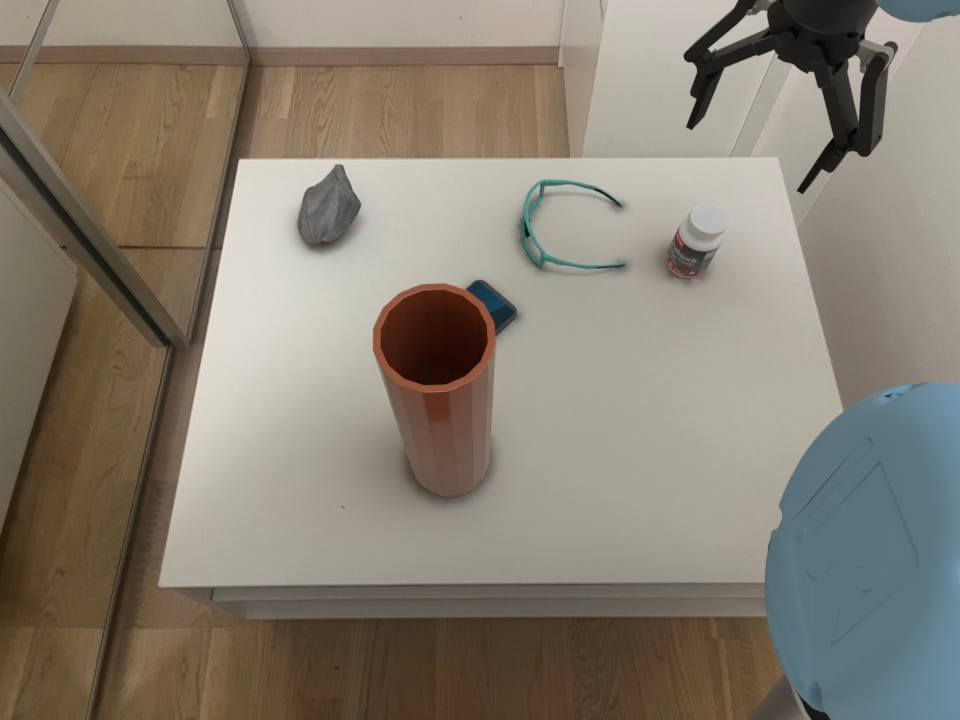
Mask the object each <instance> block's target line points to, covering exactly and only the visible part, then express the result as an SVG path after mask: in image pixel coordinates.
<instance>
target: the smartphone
mask: <svg viewBox="0 0 960 720" xmlns="http://www.w3.org/2000/svg"><path fill="white" fill-rule="evenodd" d="M464 289H465V290H467V291H468V292H470V293H471V294H472V295H474V296H475V297H476V298H477V299H479V300H480V301H481V302H482V303H484V305H485V307H486V308H487V310H488V312H489V314H490V316H491V318H492V319H493V321H494V325H495V337H496V336H497V335H499V334H500V332H502V331H503V330H504V329H505V328H506V327H507V326H508V325H510V324H511V323H512V322H514V320H515V319H516V317H517V315H518V309H517V307H516V306H515V305H514V304H513V303H512V302H511V301H509V299H507V298H506V297H505V296H503V294H502V293H500V292H499V291H497V289H496V288H494V287H493V286H492V285H491V284H489V282H487V281H486V280H483V279H476V280H475V281H473V282H471V284H470V285H468V286H467V287H466V288H464Z"/></svg>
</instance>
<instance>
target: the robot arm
mask: <svg viewBox="0 0 960 720" xmlns="http://www.w3.org/2000/svg"><path fill="white" fill-rule="evenodd" d="M879 8H880V9H881V10H882V11H883V12H884V13H886V14H887V15H889V16H891V17H892V18H895V19H897V20H899V21H903V22H908V23H915V24H916V23H917V24H924V23H931V22H933V21H934V20H938V19H942V18H947V17H953V18H954V17H957V16H959V15H960V0H737V2H736V3H735V5H734V7H733V8H732V9H730V10H729V12H728V13H726V14H725V15H724V16H723V17H722V18H721V19H720V20H718V21H717V22H716V23H715V24H714V25H713V26H711V27H710V28H709V29H708V30H706V31H705V32H704V33H703V34H702V35H701V36H700V37H699V38H698V39H696V40H695V42H694V43H692V45H690V46H689V48H688V49H687V50H685V51H684V52H683V59H684V61H685V62H686V63H692V64H693V65H694V66H695V68H696V74H695V76H694V80H693V82H692V85H691V87H690V90H689V95H690V97H692V98H694V99H695V102H694V104H693V106H692V109H691V113H690V115H689V117H688V121H687V123H686V126H685V128H686V129H688V130H689V131H693V130H694V128H695V127H696V126H698V124H699V123H700V122H701V121H702V120H703V119H704V118H705V117H706V114H707V112H708V109H709V107H710V106H711V105H710V104H711V102H712V99H713V97H714V95H715V92H716V89H717V88H718V85H719V82H720V80H721V77H722V75H723V73H724V71H725V68H729V67H730V66H733V65H736V64H738V63H741V62H743V61H746V60H748V59H752V58H753V57H755V56H756V57H760V56H763V55H765V54H768V53H770V52H773V51H774V53H775V54H776V55H777V57H776V59H778V60H779V61H782V62H783V63H787V64H791V65H793V66H794V67H795V68H796V69H798V70H799V71H800V72H803V73H804V74H807V75H808V74H809V73H813V75H814V79H815V83H816V86H817V88H818V89H819V90H820V89H821V93H822V96H823V101H824V105H825V108H826V113H827V116H828V121H829V126H830V129H831V133H832V138H831V139H830V141H828V142H827V144H826V145H825V146H824V149H823V150H822V151H821V153H820V154H819V156H818V157H817V159H816V160H815V162H814V163H813V165H812V166H811V168H810V169H809V171H808V172H807V174H806V175H805V177H804V178H803V180H802V181H801V183H800V185H799V186H798V187H797V188H796V192H797V193H799V194H800V195H804V194H805V192H806V191H807V190H808V189H809V188H810V186H811V185H812V184H813V183H814V181H815V180H816V179H817V177H818V176H819V174H820V173H821V172H822V170H823V171H825V172H826V173H828V174H831V173H833V172H835V171H836V169H837V168H838V166H839V165H840V164H841V163H842V162H843V160H844V158H845V157H846V156H847V154H849V153H850V152H855V153H857V155H858V156H860V157H861V158H867V157H869V156H870V155H872V153H873V152H874V150H875V148H877V147H878V145H879V144H880V143H881V141H882V140H883V136H884V135H883V134H884V123H885V122H884V121H885V114H886V113H885V111H886V102H887V101H886V100H887V90H888V79H889V68H890V66H891V64H892V62H893V60H894V58H895V56H896V55H897V52H898V51H899V45H898V44H897V42H895V41H892V40H890V41H886V42H885V43H884V44H883V45H882V44H879V43H877V42H874V41H872V40H871V41H870V40H868V39H866V31H867V28H868V25H869V24H870V22H871V20H872V19H873V17H874V16H875V14H876V12H877V11H878V9H879ZM763 11H764V12H766V19H767V25H768V26H767V27H766V28H764V29H762V30H760V31H757V32H755V33H753V34H751V35H749V36H747V37H744V38H742V39H739V40H737V41H735V42H732V43H730V44H728V45H726V46H724V47H721V48H718V49H717V48H714V49H713V50H712V51H711V50H710V48H711V47H712V46H713V45H714V44H716V43H717V42H718V41H719V40H720V39H722V38H723V37H724V36H725V35H727V34H728V33H729V32H730V31H731V30H732V29H734V28H735V27H736V26H737V25H738V24H739V23H741V22H742V21H743V19H744V18H745V17H746V16H747V17H748V16H749V17H751V16H757V15H758V14H759V13H760V12H763ZM854 56H856V57H857V58H858V59H859V72H860V74H863V76H862V79H861V83H860V92H859V93H860V96H859V110H858V113H857V109H856V104H855V100H854V95H853V90H852V86H851V81H850V78H849V68H850V64H849V59H851V58H853V57H854ZM778 503H779V504H778V508H779V510H780V512H781V520H780V522H779V525H778V527H777V528H775V529H773V530H772V531H771V532H770V538H769V541H768V545H767V553H766V559H765V568H764V569H765V570H764V602H765V603H764V605H765V615H766V622H767V623H766V624H767V627H768V633H769V638H770V642H771V644H772V648H773V651H774V653H775V656H776V659H777V661H778V664H779V665H780V666H781V669H782V671H783V673H781V675H780V676H779V678H778V679H777V680H776V682H775V683H774V684H773V686H772V687H771V688H770V689H769V690H768V692H767V693H766V694H765V696H764V697H763V698H762V700H761V701H760V702H759V703H758V705H757V706H756V707H755V708H754V710H753V712H751V714H750V715H749V717H747V719H746V720H960V383H957V382H949V381H948V382H947V381H923V382H918V383H906V384H901V385H895V386H892V387H889V388H884V389H883V390H880V391H877V392H875V393H873V394H870V395H869V396H866V397H865V398H862V399H860V400H859V401H857V402H855V403H854V404H852V405H850V406H849V407H848V408H846V409H845V410H843V411H842V412H841V413H840V414H838V415H837V416H836V417H835V418H834V419H832V421H830V423H829V424H828V425H827V426H825V428H823V430H822V431H821V432H820V433H819V434H818V435H817V437H815V438H814V440H813V441H812V442H811V444H810V445H809V446H808V448H807V449H806V451H805V452H804V453H803V455H802V456H801V458H800V460H799V461H798V463H797V465H796V466H795V468H794V470H793V471H792V474H791V475H790V477H789V480H788V481H787V484H786V486H785V488H784V490H783V493H782V495H781V497H780V501H779V502H778Z"/></svg>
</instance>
